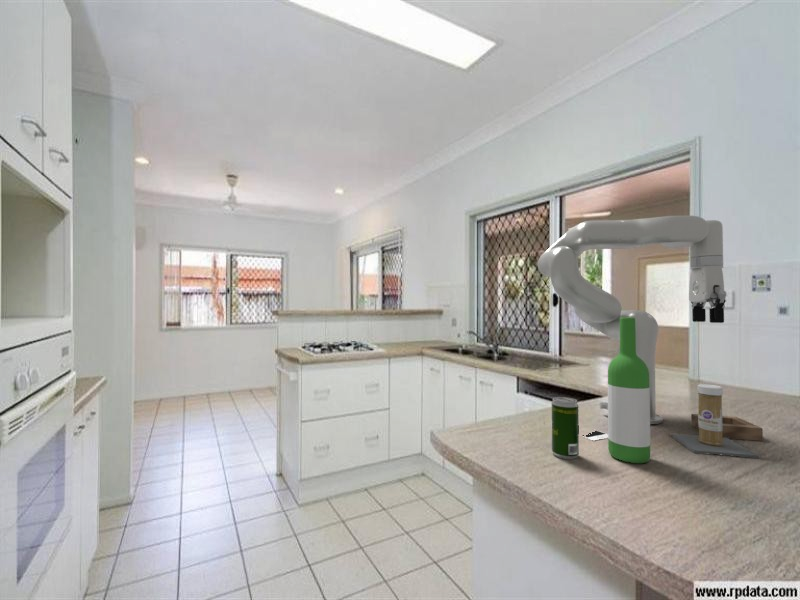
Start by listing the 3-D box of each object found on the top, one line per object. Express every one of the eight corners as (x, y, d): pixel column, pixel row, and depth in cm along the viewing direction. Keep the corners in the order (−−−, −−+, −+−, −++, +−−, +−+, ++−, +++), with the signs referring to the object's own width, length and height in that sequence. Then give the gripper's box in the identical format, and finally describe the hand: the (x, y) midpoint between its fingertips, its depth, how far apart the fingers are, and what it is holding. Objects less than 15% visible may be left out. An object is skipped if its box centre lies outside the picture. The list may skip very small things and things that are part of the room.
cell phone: (593, 443, 92) (593, 440, 92) (542, 424, 106) (542, 422, 106) (615, 438, 95) (615, 436, 95) (562, 421, 109) (562, 419, 109)
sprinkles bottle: (697, 443, 89) (696, 385, 89) (698, 438, 92) (697, 382, 92) (723, 448, 86) (722, 388, 86) (723, 442, 89) (722, 385, 89)
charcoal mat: (694, 452, 84) (694, 450, 84) (670, 435, 96) (670, 433, 96) (759, 458, 81) (759, 455, 81) (726, 440, 93) (726, 437, 93)
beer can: (584, 457, 81) (583, 401, 82) (566, 461, 79) (566, 403, 79) (563, 449, 86) (563, 395, 87) (546, 452, 84) (546, 398, 84)
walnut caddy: (712, 436, 95) (711, 424, 95) (691, 424, 105) (691, 413, 105) (762, 440, 93) (762, 428, 93) (736, 427, 103) (736, 416, 103)
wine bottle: (611, 461, 79) (609, 317, 80) (605, 449, 86) (604, 317, 87) (654, 467, 76) (653, 318, 77) (645, 454, 84) (644, 317, 84)
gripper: (678, 267, 121) (679, 321, 120) (707, 260, 104) (708, 323, 103) (706, 266, 119) (707, 321, 118) (739, 259, 102) (741, 323, 101)
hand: (707, 322), depth 111 cm, fingers open, 9 cm apart
